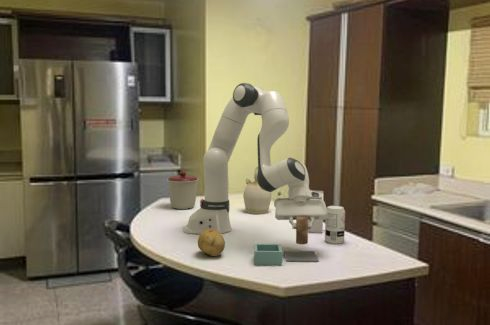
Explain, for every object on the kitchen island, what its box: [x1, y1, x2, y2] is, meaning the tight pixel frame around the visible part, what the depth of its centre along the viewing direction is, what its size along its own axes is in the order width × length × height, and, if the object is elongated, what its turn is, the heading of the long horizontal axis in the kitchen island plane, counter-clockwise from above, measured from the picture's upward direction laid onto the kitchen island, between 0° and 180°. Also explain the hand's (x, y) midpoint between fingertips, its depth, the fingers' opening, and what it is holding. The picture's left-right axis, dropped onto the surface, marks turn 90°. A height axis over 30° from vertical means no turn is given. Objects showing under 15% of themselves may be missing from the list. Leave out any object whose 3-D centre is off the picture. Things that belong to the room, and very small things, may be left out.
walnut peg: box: [295, 216, 309, 245], centre depth 186 cm, size 4×4×10 cm
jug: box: [242, 166, 272, 215], centre depth 265 cm, size 15×16×25 cm
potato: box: [197, 229, 226, 257], centre depth 189 cm, size 10×12×10 cm
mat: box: [283, 250, 319, 263], centre depth 187 cm, size 12×12×1 cm
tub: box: [253, 243, 283, 266], centre depth 182 cm, size 10×10×5 cm
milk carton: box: [308, 190, 324, 234], centre depth 226 cm, size 7×7×19 cm
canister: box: [166, 170, 200, 210], centre depth 275 cm, size 18×18×21 cm
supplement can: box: [324, 205, 346, 245], centre depth 208 cm, size 8×8×15 cm
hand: (302, 228), depth 186 cm, fingers closed on walnut peg, 4 cm apart
